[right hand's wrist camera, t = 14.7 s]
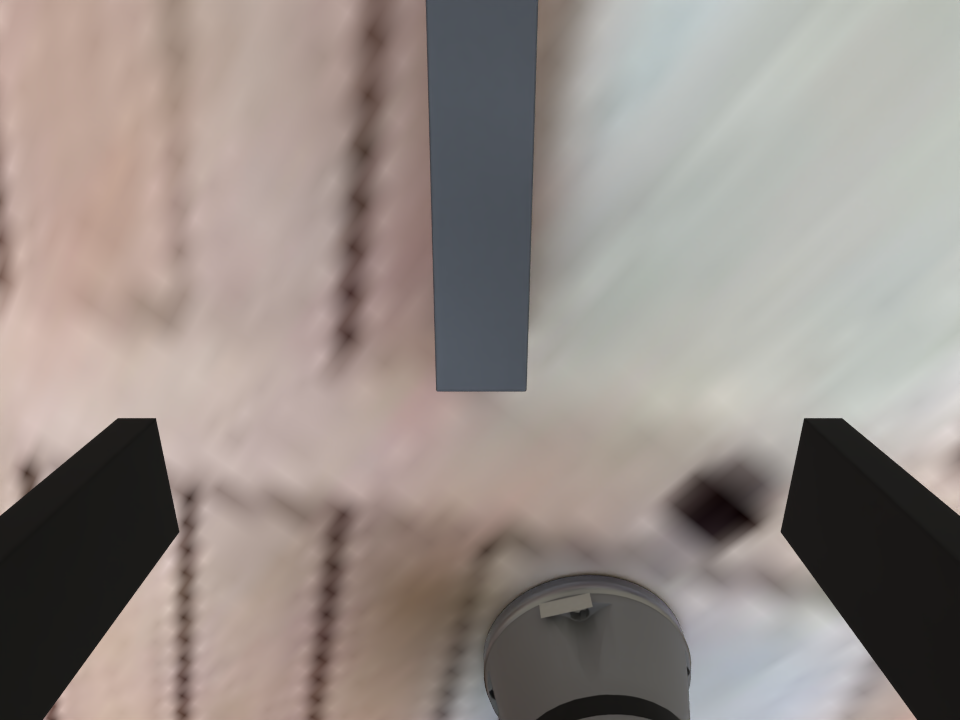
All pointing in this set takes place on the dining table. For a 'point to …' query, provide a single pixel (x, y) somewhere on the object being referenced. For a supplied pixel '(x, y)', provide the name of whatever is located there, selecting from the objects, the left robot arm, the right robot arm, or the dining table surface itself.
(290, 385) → the dining table surface
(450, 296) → the bar
